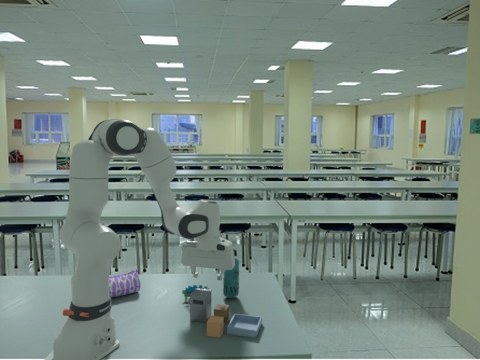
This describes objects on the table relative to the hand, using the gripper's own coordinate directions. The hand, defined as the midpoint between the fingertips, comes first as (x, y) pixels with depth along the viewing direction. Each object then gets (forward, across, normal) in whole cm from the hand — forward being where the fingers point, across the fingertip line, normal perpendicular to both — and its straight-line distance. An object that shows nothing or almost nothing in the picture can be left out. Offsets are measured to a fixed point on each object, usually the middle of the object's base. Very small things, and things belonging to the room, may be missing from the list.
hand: (207, 278), depth 149 cm
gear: (+12, -7, +7) cm, 16 cm away
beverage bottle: (+12, +6, +12) cm, 18 cm away
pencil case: (+12, -40, +1) cm, 42 cm away
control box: (+12, 0, -8) cm, 14 cm away
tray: (+12, +17, -11) cm, 24 cm away
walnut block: (+12, +8, -7) cm, 16 cm away
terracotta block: (+12, +8, -16) cm, 22 cm away
